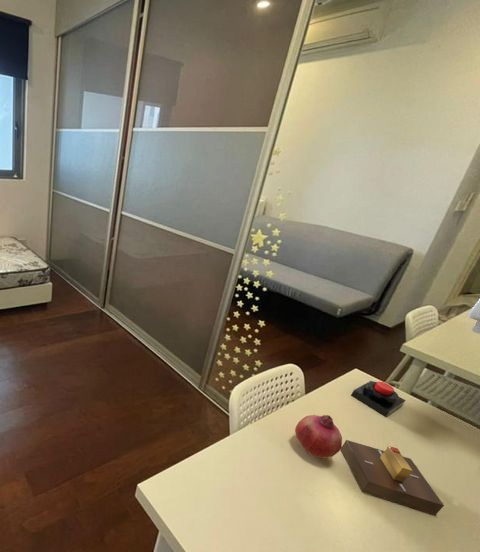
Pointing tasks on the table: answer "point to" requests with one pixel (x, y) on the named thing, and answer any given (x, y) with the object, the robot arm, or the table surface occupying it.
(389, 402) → the bell block
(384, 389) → the bell button
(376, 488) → the plate
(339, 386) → the table surface
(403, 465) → the block
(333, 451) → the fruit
